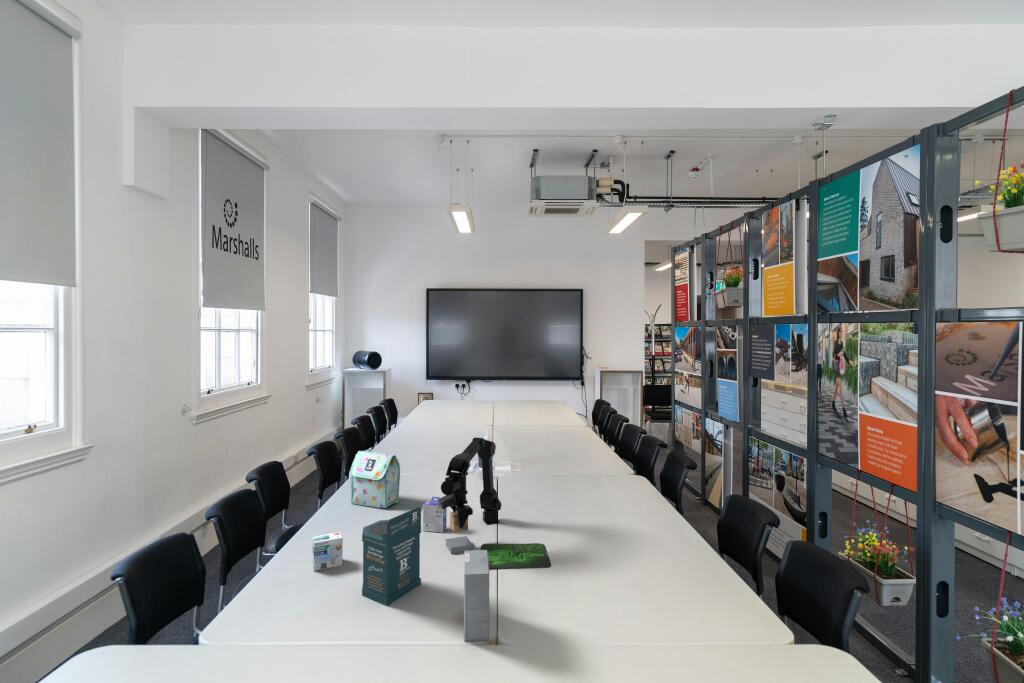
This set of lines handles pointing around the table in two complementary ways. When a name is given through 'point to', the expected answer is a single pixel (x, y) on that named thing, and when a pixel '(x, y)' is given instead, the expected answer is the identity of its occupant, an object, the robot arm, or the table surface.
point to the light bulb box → (327, 551)
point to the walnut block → (457, 523)
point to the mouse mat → (517, 556)
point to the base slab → (459, 545)
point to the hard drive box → (476, 595)
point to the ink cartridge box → (434, 516)
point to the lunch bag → (375, 479)
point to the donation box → (392, 557)
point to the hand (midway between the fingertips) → (459, 525)
